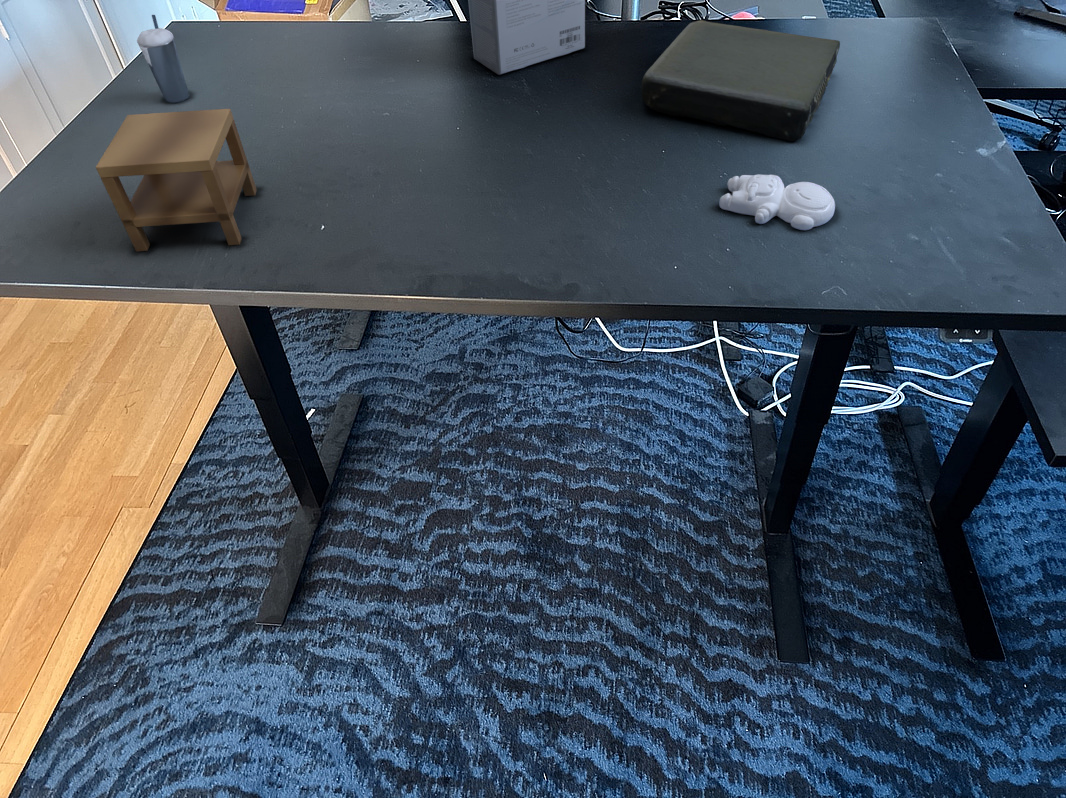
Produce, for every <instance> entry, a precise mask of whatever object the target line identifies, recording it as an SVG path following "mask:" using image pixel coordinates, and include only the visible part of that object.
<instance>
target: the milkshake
mask: <svg viewBox="0 0 1066 798" xmlns="http://www.w3.org/2000/svg"><path fill="white" fill-rule="evenodd" d="M151 19H152V23H153V27H154V28H150V29H146V30H144V31H142V32H140V33H139V35H138V37H137V39H136V43H137V46H138V47H139V49H140V50H141V51H140V52H141V53H142V55H143V57H144V59H145V60H146V61H145V62H146V63H147V65H148V67H149V69H150V71H151V73H152V75H153V78H154V80H155V82H156V84H157V87H158V88H159V90H160V92H161V95H162V97H163V99H164V101H165V102H167V103H173V104H176V103H180V102H184V101H185V100H187V99H189V96H190V93H189V88H188V86H187V82H186V81H187V80H186V79H185V75H184V71H183V68H182V64H181V61H180V57H179V53H178V49H177V45H176V42H175V37H174V34H173V33H172V31H170V30H168V29H167V28H162V27H160V28H159V25H158V20H157V17H156V14H151Z"/></svg>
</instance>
